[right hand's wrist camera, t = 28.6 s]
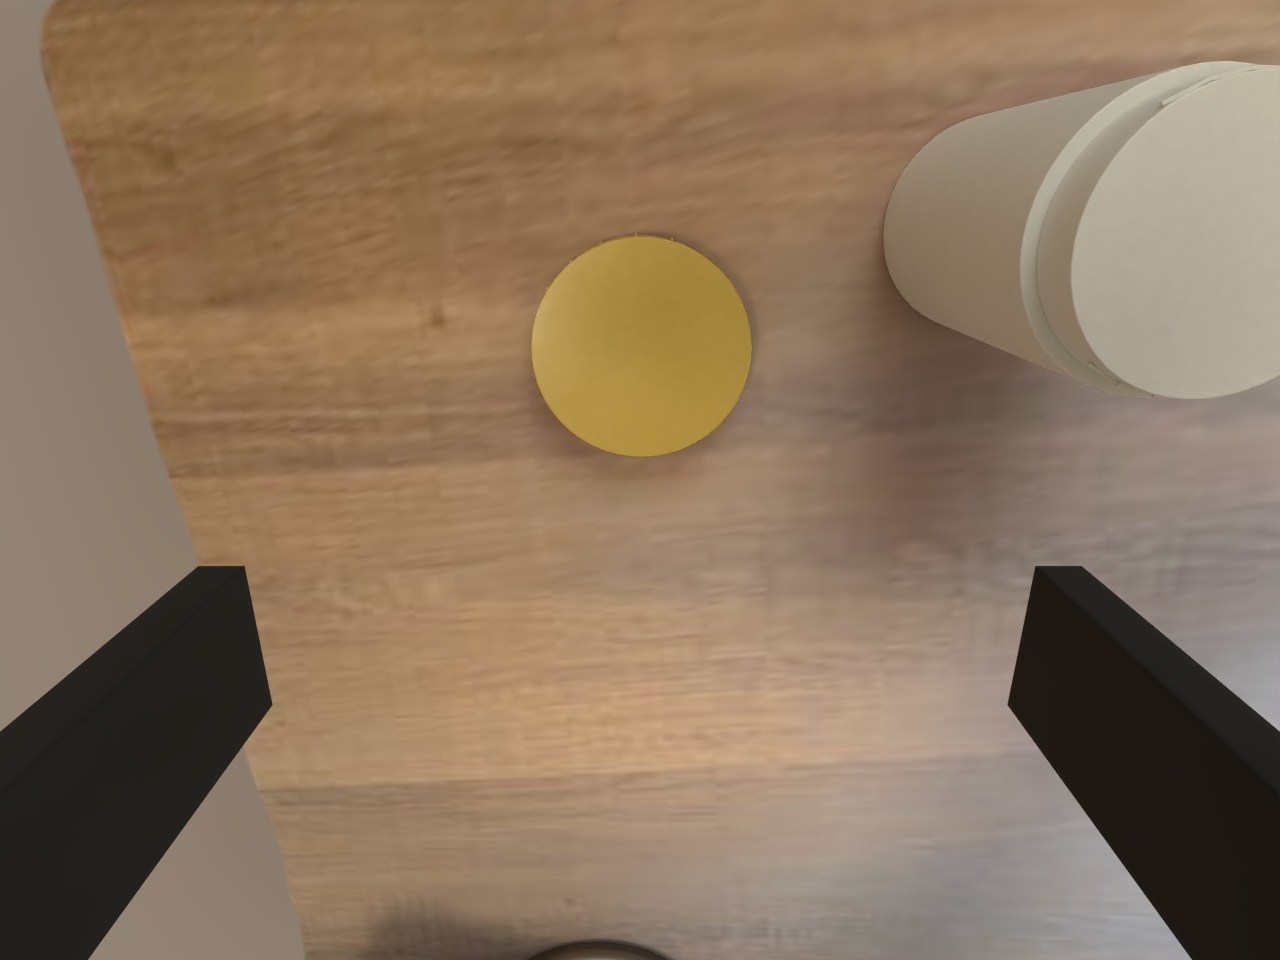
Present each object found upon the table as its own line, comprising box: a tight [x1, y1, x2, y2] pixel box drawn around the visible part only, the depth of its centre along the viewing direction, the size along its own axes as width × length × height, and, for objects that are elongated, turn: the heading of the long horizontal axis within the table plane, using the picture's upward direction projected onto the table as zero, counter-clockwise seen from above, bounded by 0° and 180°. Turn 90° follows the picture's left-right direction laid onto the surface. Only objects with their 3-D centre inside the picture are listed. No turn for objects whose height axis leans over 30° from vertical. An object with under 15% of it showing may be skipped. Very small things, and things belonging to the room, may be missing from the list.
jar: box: [883, 61, 1280, 400], centre depth 28 cm, size 10×10×16 cm
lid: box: [531, 233, 752, 457], centre depth 36 cm, size 10×10×2 cm
